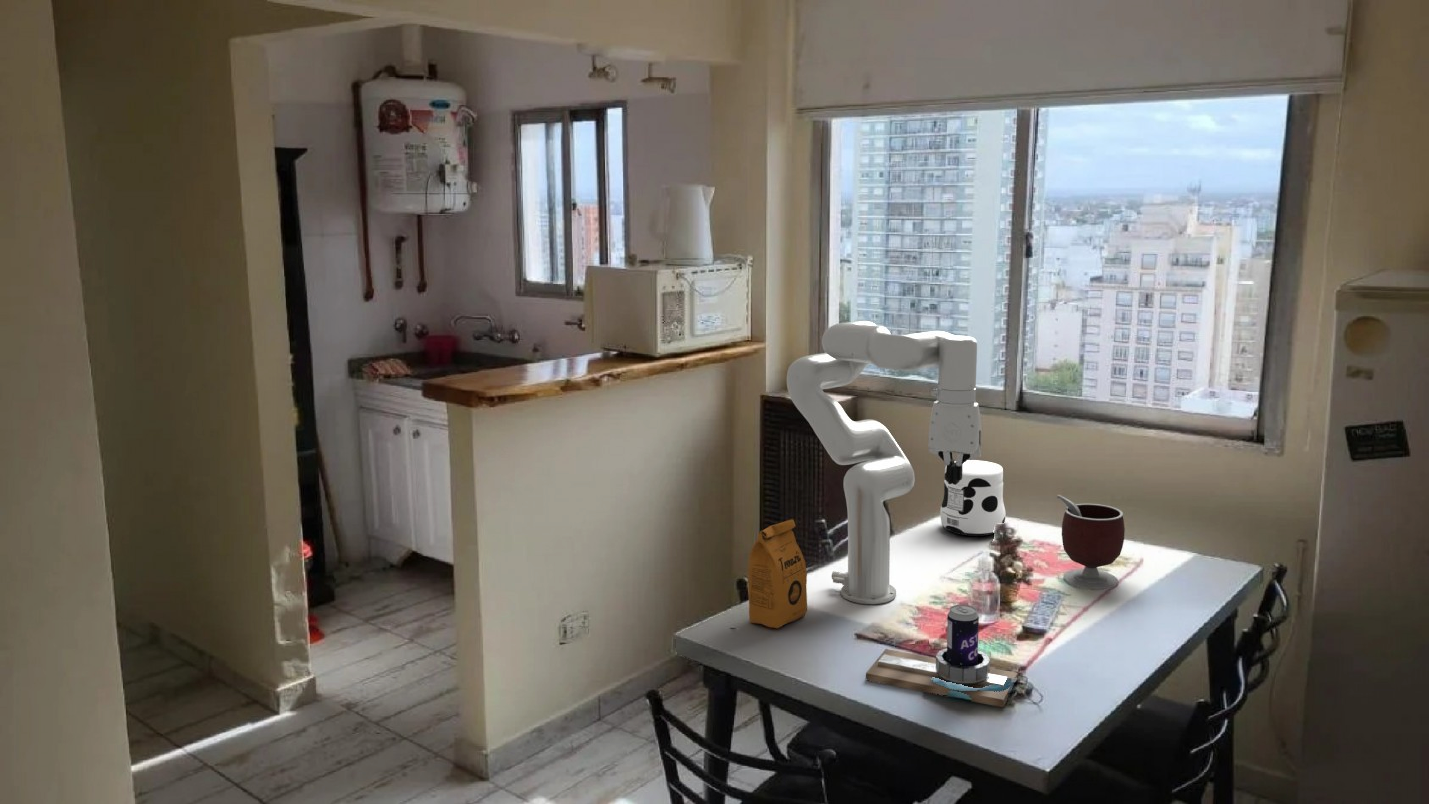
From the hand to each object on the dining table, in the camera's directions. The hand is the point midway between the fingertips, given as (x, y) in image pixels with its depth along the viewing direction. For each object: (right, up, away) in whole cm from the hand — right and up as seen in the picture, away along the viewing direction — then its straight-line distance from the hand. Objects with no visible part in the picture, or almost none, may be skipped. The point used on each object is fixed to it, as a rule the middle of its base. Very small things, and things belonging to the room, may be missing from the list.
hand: (953, 482), depth 220 cm
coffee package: (-36, -31, +12) cm, 49 cm away
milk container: (+21, -19, +70) cm, 75 cm away
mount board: (-7, -36, -19) cm, 41 cm away
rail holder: (-7, -35, -19) cm, 40 cm away
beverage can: (-3, -34, -21) cm, 40 cm away
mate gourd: (+39, -26, +31) cm, 56 cm away
